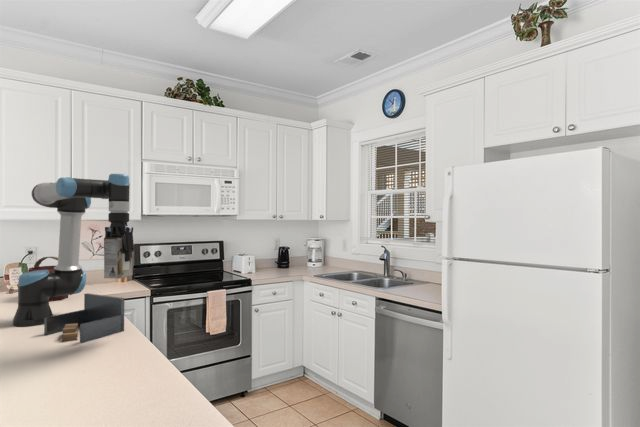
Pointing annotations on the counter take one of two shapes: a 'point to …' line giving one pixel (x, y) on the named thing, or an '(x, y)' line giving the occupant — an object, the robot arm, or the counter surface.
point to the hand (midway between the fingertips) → (118, 269)
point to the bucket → (51, 269)
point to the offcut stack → (70, 332)
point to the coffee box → (115, 259)
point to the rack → (91, 318)
